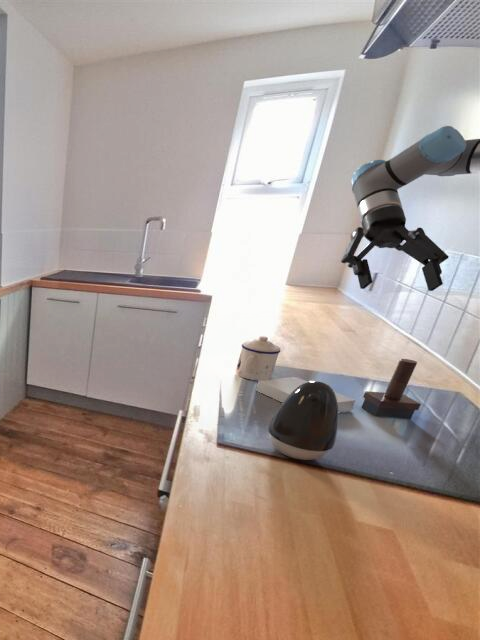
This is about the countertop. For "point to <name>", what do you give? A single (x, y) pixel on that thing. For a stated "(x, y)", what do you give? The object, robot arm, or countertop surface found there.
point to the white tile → (285, 386)
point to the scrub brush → (393, 395)
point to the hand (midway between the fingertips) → (400, 286)
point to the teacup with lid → (257, 359)
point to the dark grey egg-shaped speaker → (306, 422)
